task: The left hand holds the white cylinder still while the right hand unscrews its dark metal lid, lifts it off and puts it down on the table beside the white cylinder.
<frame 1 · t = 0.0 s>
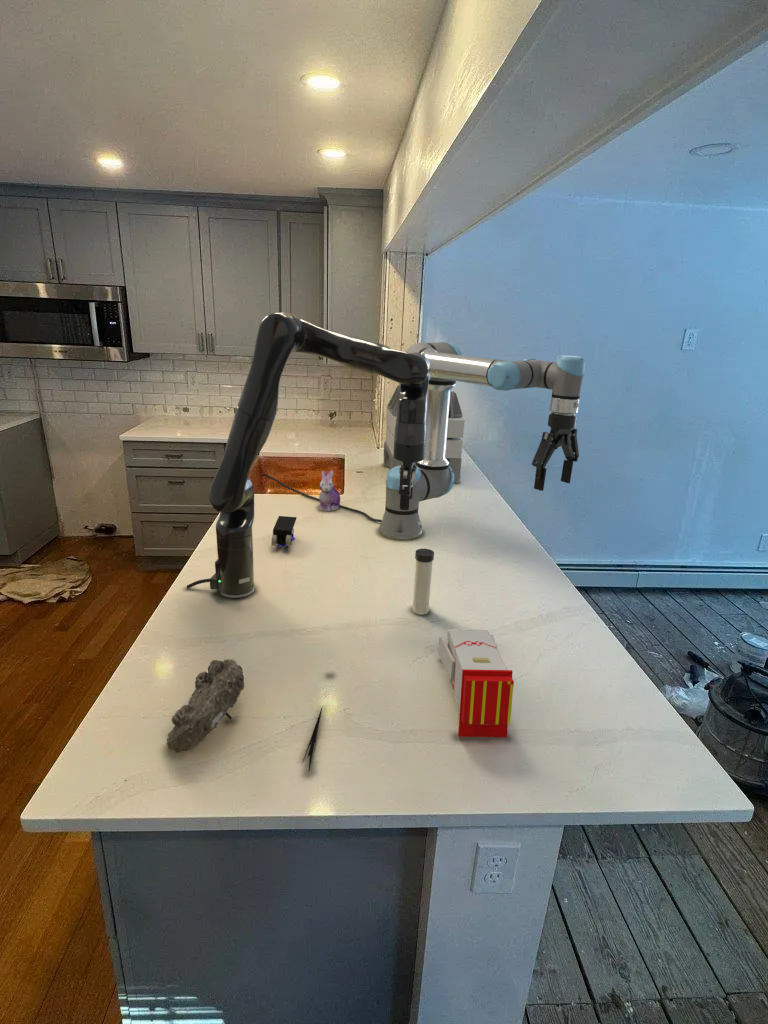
left hand: (406, 503, 141), 29 cm above the counter, tool pointing down, fingers open, 8 cm apart
right hand: (552, 485, 166), 28 cm above the counter, tool pointing down, fingers open, 13 cm apart
white cylinder: (420, 610, 150), on the counter
transformer: (419, 473, 275), on the counter
feather: (319, 719, 109), on the counter
fossil: (212, 717, 108), on the counter
figurine: (329, 508, 222), on the counter
lid: (424, 553, 144), point 17 cm above the counter, screwed on, not yet turned
figurine character: (284, 544, 187), on the counter
toy: (469, 691, 119), on the counter
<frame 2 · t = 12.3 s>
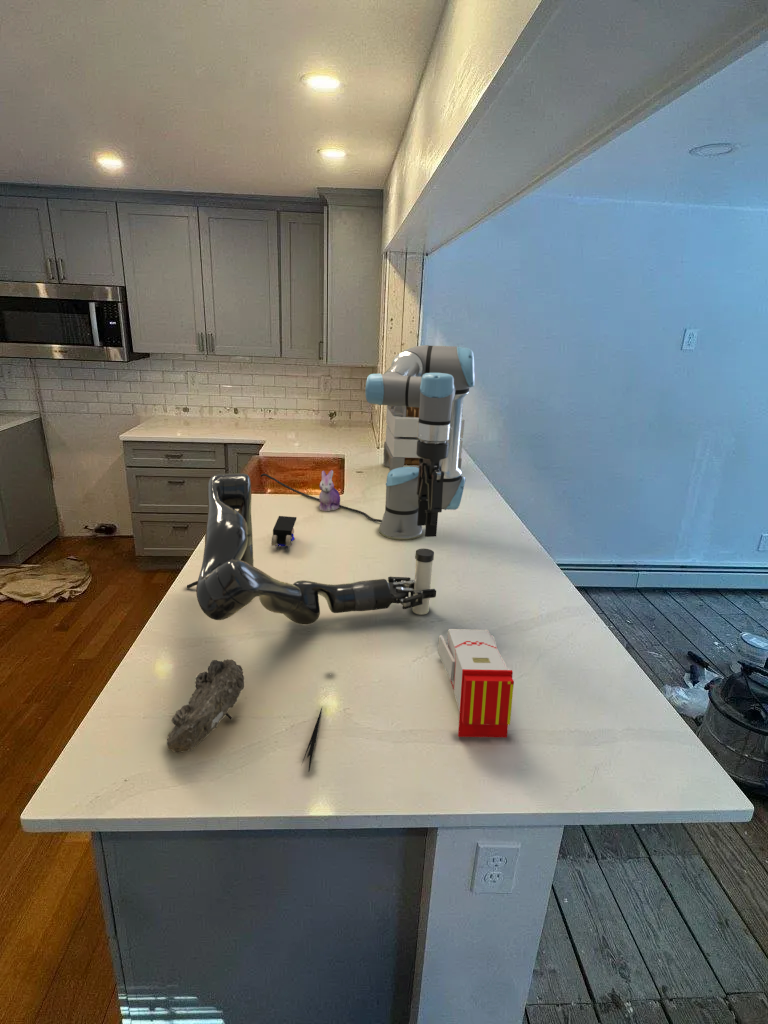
left hand: (431, 588, 148), 6 cm above the counter, tool horizontal, fingers closed on white cylinder, 4 cm apart
right hand: (426, 530, 142), 23 cm above the counter, tool pointing down, fingers open, 7 cm apart
white cylinder: (420, 610, 150), on the counter, touching left hand
everything else where it was.
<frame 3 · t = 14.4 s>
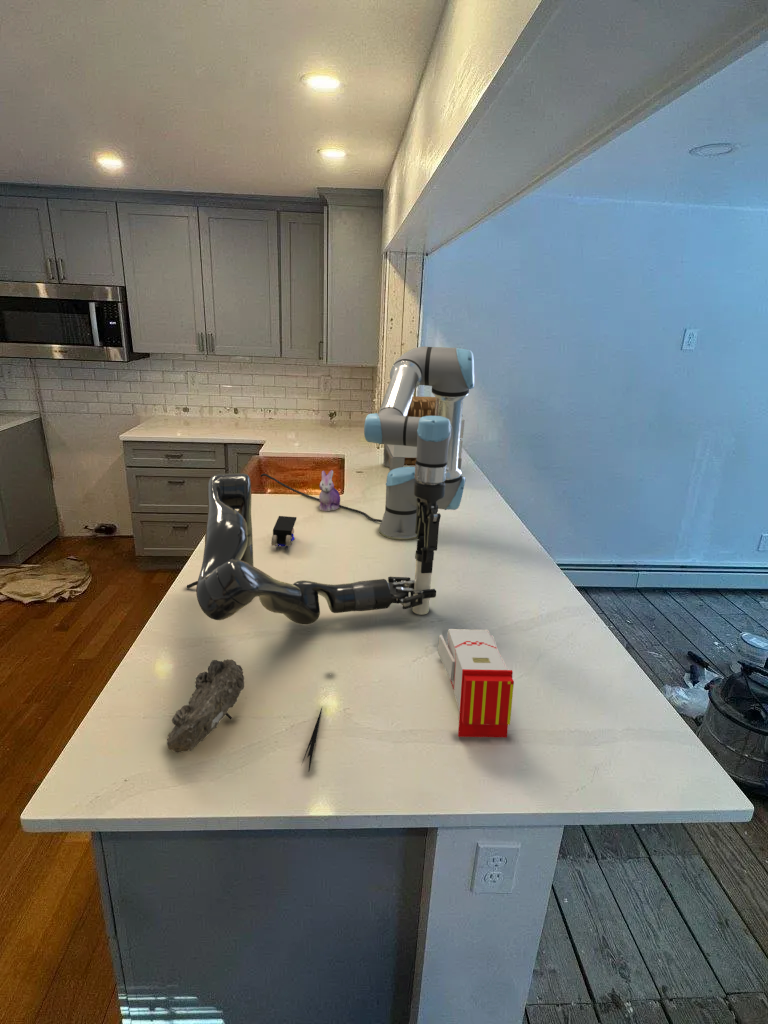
left hand: (431, 588, 148), 6 cm above the counter, tool horizontal, fingers closed on white cylinder, 4 cm apart
right hand: (423, 567, 145), 12 cm above the counter, tool pointing down, fingers closed on lid, 5 cm apart
white cylinder: (420, 610, 150), on the counter, touching left hand
lid: (424, 553, 144), point 17 cm above the counter, screwed on, not yet turned, touching right hand
everything else where it was.
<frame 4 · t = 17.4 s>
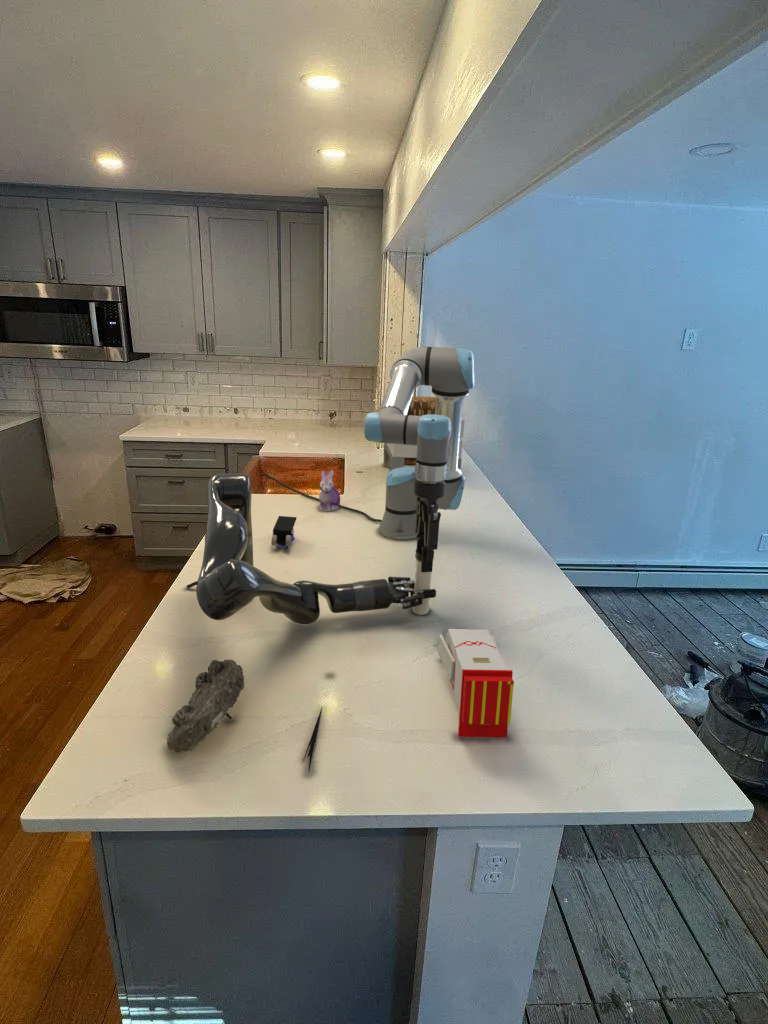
left hand: (431, 588, 148), 6 cm above the counter, tool horizontal, fingers closed on white cylinder, 4 cm apart
right hand: (423, 566, 145), 13 cm above the counter, tool pointing down, fingers closed on lid, 5 cm apart
white cylinder: (420, 610, 150), on the counter, touching left hand
lid: (424, 552, 144), point 17 cm above the counter, turned 101° so far, risen 0.3 cm, still on its thread, touching right hand
everything else where it was.
when the right hand's fingers open (0 cm above the counter, at t = 24.3 s): lid drops 3 cm, point 1 cm above the counter.
when the left hand's fingers open (6 cm above the counter, at t = 25.0 s): white cylinder stays where it is, on the counter.
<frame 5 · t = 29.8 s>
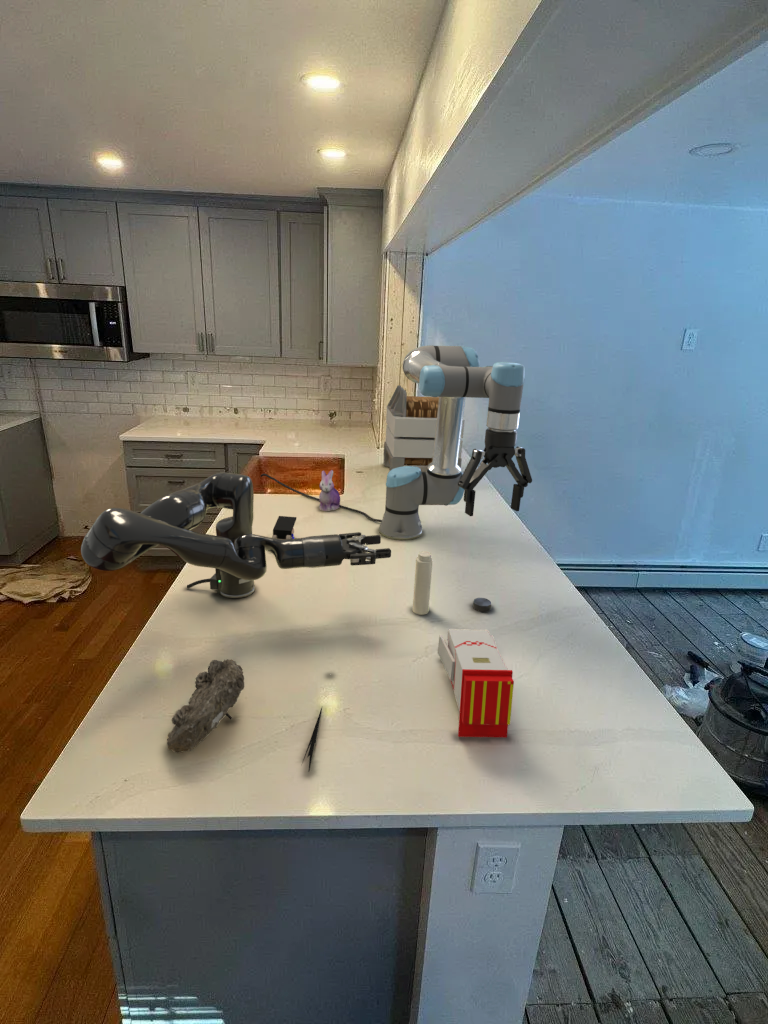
left hand: (385, 545, 140), 20 cm above the counter, tool horizontal, fingers open, 8 cm apart
right hand: (492, 512, 144), 27 cm above the counter, tool pointing down, fingers open, 13 cm apart
white cylinder: (420, 610, 150), on the counter
lid: (482, 603, 152), point 1 cm above the counter, off its thread
everything else where it was.
at the end: lid came off its thread; lid point 1.4 cm above the counter; the left hand is holding nothing; the right hand is holding nothing; white cylinder tilted 0°; white cylinder moved 0.0 cm from its start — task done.
